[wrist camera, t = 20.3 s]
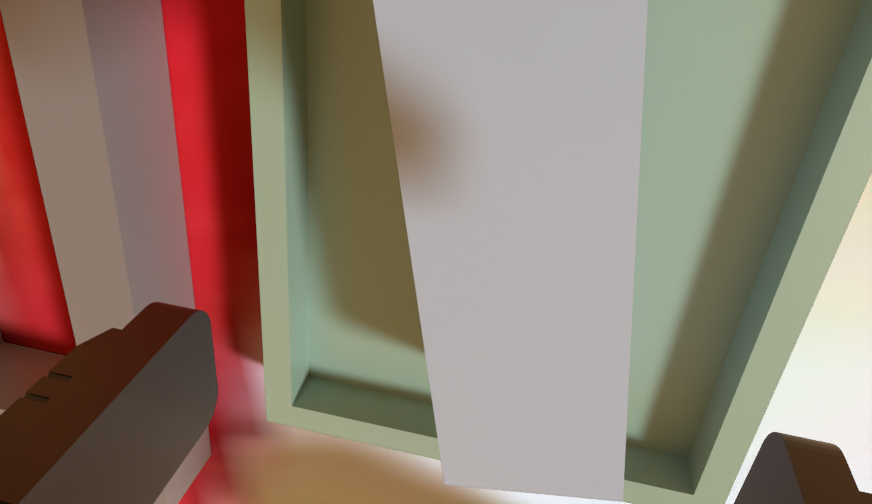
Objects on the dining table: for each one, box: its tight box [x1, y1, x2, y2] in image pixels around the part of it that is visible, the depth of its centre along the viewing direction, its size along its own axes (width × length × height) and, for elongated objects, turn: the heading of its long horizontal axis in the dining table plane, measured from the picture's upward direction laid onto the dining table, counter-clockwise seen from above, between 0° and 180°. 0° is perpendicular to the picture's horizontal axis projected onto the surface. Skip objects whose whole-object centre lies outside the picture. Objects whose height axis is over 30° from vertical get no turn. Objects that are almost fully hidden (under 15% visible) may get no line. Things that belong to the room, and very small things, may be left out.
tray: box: [244, 0, 872, 504], centre depth 19 cm, size 22×16×2 cm
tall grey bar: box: [373, 0, 648, 502], centre depth 15 cm, size 22×5×5 cm, turn 6°
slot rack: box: [0, 0, 211, 504], centre depth 24 cm, size 21×12×4 cm, turn 175°
